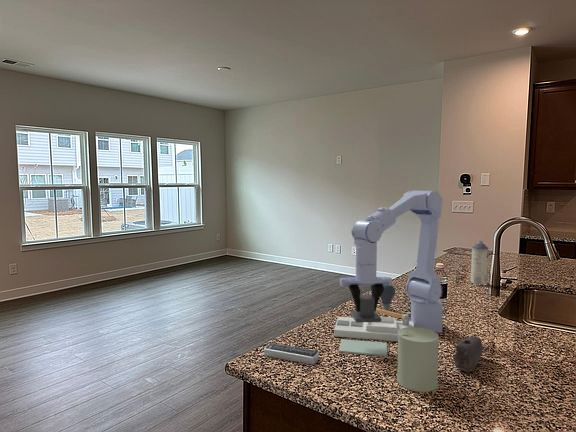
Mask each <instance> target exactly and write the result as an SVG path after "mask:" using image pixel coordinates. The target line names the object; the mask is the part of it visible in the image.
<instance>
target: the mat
mask: <svg viewBox="0 0 576 432" xmlns="http://www.w3.org/2000/svg"><path fill="white" fill-rule="evenodd" d="M338 353H344V354H352V355H353V354H354V355H364V356H376V357H388V343H387V342H379V341H370V340H369V341H367V340H356V339H343V338H342V339H341V340H340V344H339V349H338Z"/></svg>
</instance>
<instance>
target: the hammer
mask: <svg viewBox="0 0 576 432" xmlns="http://www.w3.org/2000/svg"><path fill="white" fill-rule="evenodd" d="M375 312H376V313H377V314H378V313H380V314H384V315H386V316H390V317H394V318H399V319H402V320H401V321H402V324H404V325H408V324H409V321H410V315H409V314H407V313H405V314H404V313H403V314H402V313H398V312H393V311H390V310H385V309H383V308H378V307H376V311H375Z"/></svg>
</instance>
